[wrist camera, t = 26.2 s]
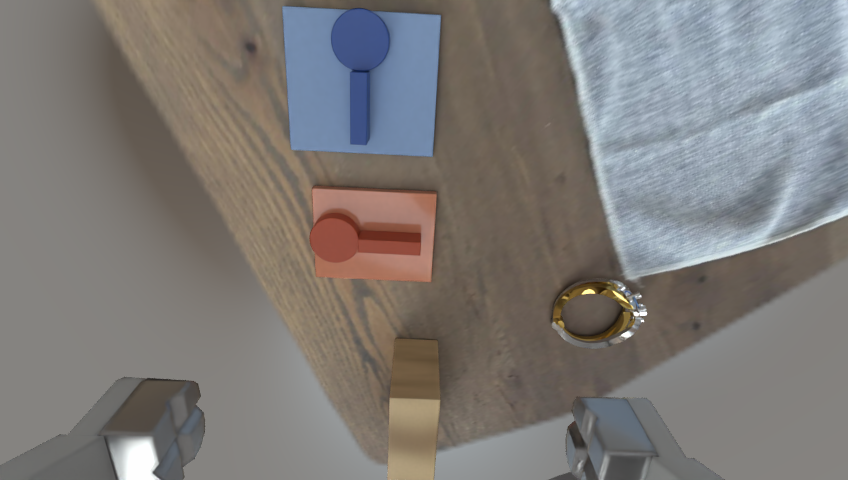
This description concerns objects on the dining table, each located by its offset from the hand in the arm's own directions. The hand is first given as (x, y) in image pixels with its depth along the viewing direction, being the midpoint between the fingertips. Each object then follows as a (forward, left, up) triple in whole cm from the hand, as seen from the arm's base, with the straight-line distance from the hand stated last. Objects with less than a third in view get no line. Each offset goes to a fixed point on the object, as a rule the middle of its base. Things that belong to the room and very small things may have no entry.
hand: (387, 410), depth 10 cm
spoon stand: (-23, -1, -29) cm, 37 cm away
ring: (-16, -13, -29) cm, 35 cm away
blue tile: (+4, +4, -29) cm, 30 cm away
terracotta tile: (-8, +3, -29) cm, 30 cm away
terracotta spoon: (-8, +3, -28) cm, 30 cm away
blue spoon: (+4, +4, -28) cm, 29 cm away
